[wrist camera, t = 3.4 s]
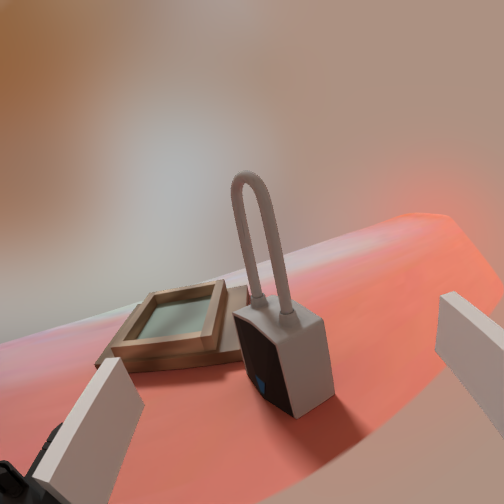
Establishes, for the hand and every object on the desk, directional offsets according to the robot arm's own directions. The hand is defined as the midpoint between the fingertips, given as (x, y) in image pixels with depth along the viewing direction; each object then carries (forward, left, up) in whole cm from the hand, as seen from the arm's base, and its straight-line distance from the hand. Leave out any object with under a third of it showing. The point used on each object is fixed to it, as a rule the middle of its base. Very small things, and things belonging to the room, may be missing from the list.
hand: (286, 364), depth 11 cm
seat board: (-11, +19, -8) cm, 23 cm away
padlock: (0, +8, -8) cm, 11 cm away
